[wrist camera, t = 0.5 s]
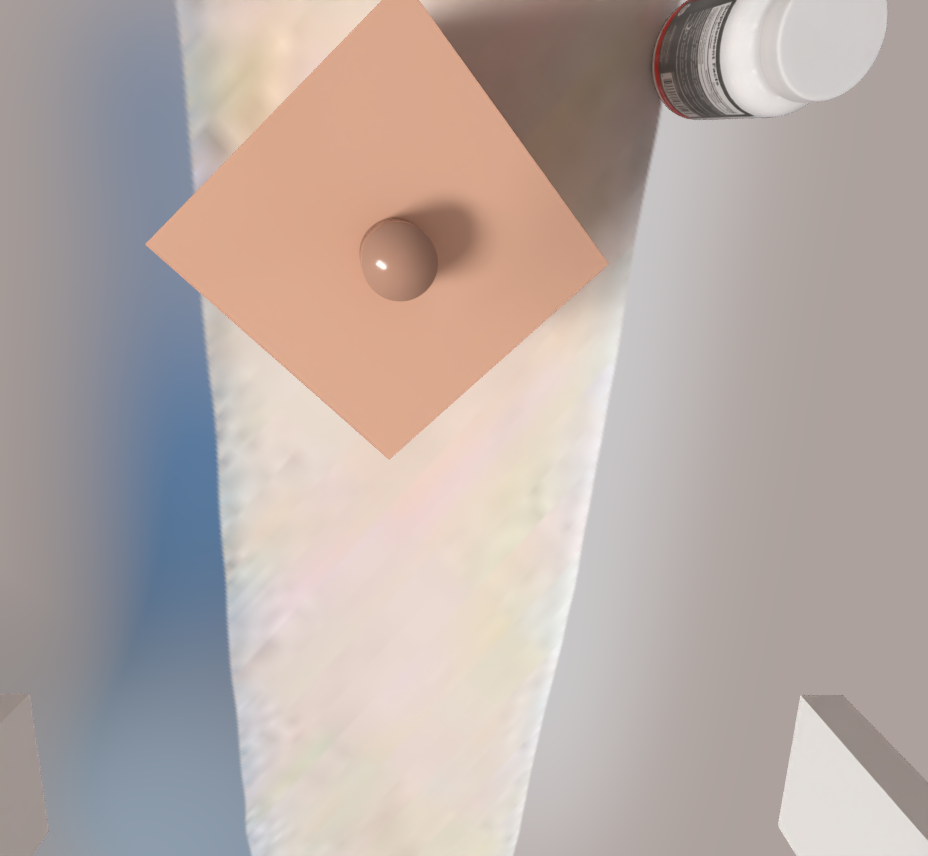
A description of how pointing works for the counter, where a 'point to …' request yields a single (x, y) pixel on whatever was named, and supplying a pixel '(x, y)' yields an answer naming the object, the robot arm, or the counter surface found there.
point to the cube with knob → (383, 231)
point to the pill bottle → (764, 54)
